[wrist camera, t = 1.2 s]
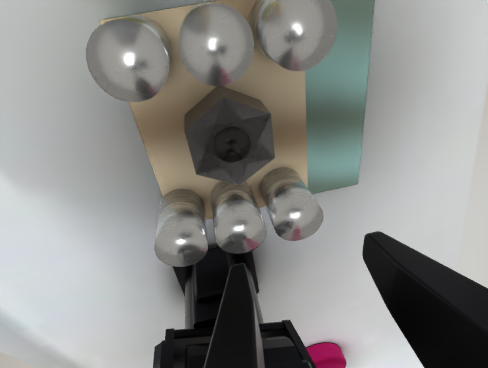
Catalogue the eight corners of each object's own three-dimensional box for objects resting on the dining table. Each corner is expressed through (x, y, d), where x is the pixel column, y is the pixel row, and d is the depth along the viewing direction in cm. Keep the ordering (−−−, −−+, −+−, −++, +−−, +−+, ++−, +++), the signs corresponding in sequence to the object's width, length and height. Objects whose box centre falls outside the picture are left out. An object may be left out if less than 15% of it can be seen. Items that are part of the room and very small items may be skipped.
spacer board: (352, 178, 23) (359, 185, 22) (173, 217, 22) (173, 226, 21) (368, -26, 16) (379, -27, 15) (103, 19, 15) (98, 20, 14)
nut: (266, 158, 19) (277, 178, 17) (199, 172, 19) (201, 194, 17) (257, 77, 16) (269, 88, 14) (178, 92, 16) (177, 106, 14)
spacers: (307, 196, 22) (330, 232, 18) (166, 228, 21) (163, 271, 17) (303, -14, 14) (338, -19, 11) (88, 22, 14) (57, 29, 10)
